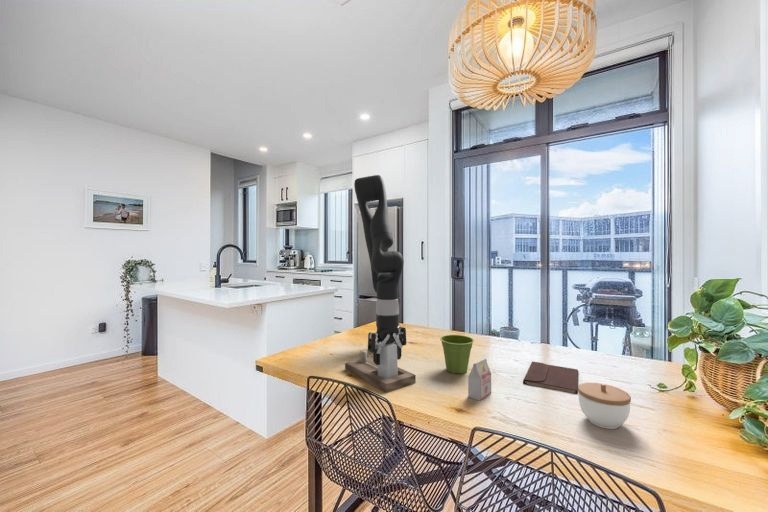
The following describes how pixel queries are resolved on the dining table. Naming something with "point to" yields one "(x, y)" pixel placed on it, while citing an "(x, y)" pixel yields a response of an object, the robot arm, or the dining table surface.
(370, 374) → the brown piece
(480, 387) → the milk carton
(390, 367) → the skincare box
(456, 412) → the dining table surface
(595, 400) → the lidded jar
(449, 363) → the plant pot
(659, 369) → the dining table surface
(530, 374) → the notebook
